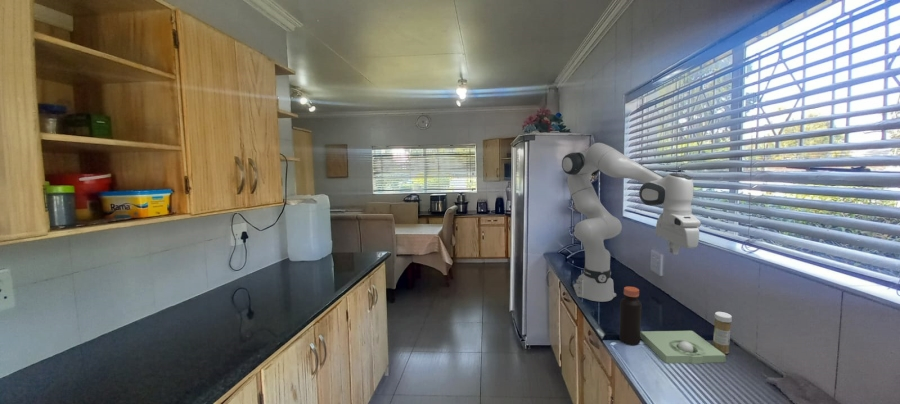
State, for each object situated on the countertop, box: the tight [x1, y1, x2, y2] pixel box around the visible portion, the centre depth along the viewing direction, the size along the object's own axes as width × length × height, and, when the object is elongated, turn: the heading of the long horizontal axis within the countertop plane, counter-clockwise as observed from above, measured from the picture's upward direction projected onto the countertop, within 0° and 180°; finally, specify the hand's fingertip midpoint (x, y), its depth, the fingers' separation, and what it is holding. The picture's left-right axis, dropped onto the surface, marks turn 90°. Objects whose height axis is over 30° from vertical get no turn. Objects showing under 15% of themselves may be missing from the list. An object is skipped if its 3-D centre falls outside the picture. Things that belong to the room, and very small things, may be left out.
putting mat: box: [640, 330, 727, 365], centre depth 119 cm, size 16×19×2 cm
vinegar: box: [618, 286, 643, 346], centre depth 124 cm, size 7×7×20 cm
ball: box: [678, 341, 693, 353], centre depth 116 cm, size 4×4×4 cm
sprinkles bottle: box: [712, 311, 733, 355], centre depth 116 cm, size 5×5×13 cm
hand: (673, 253), depth 128 cm, fingers closed
